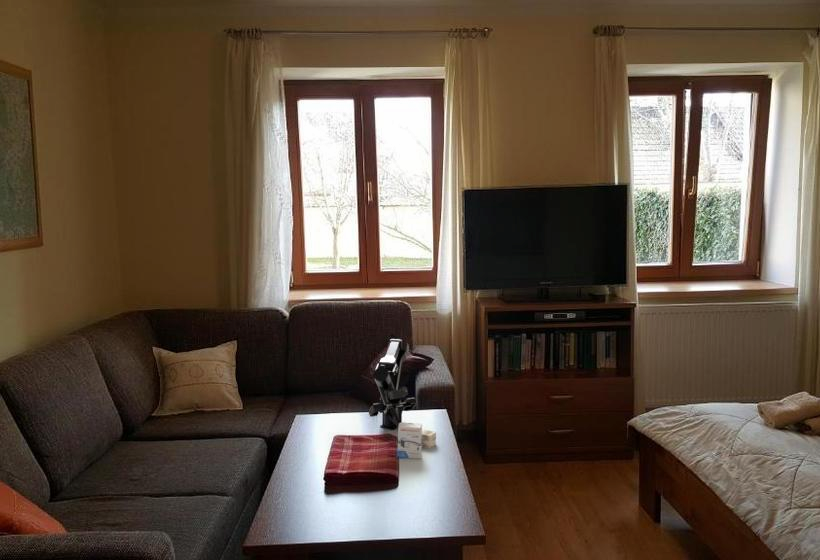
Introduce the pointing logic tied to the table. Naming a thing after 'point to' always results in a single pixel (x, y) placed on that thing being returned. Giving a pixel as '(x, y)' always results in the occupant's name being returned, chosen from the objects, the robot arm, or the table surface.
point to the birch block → (428, 438)
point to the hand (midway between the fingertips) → (400, 427)
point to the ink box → (409, 440)
